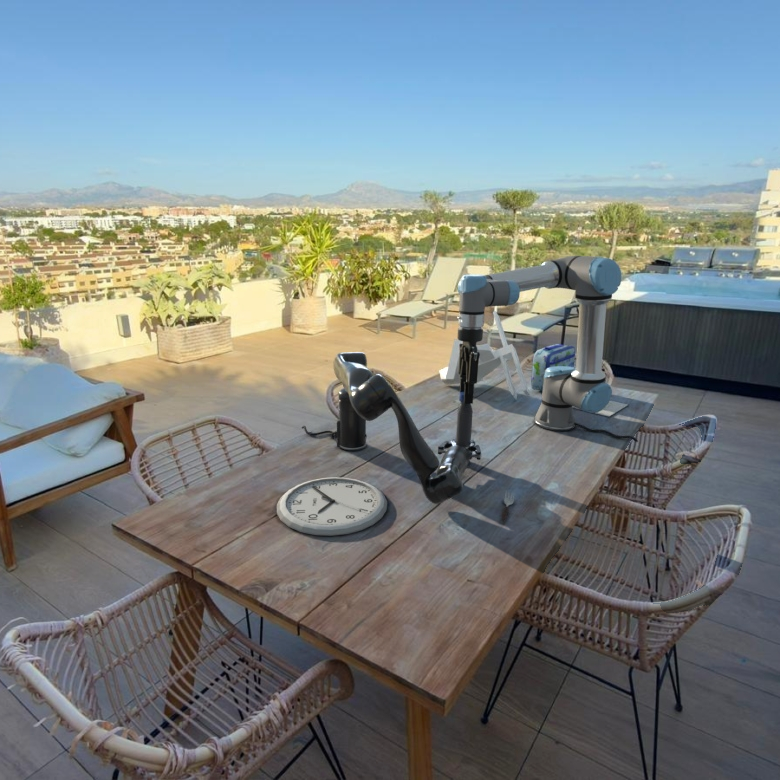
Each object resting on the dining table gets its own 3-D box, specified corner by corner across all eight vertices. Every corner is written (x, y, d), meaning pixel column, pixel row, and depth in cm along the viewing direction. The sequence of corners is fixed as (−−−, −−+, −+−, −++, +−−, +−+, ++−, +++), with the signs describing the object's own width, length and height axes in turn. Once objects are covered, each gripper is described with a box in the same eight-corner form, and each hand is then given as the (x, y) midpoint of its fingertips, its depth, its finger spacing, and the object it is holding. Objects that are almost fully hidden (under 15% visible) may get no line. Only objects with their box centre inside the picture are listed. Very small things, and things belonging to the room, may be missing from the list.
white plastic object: (461, 429, 252) (437, 405, 227) (444, 352, 274) (420, 323, 250) (535, 404, 240) (518, 377, 215) (510, 326, 262) (492, 293, 237)
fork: (496, 524, 135) (497, 517, 134) (505, 496, 149) (506, 489, 148) (506, 526, 134) (507, 519, 133) (514, 497, 148) (515, 491, 148)
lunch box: (547, 396, 238) (552, 351, 232) (526, 391, 246) (531, 347, 239) (574, 385, 256) (579, 343, 250) (554, 380, 263) (559, 340, 257)
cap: (456, 400, 164) (456, 393, 164) (464, 397, 167) (464, 390, 167) (467, 403, 162) (467, 396, 161) (475, 400, 164) (476, 393, 164)
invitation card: (608, 416, 214) (573, 407, 224) (608, 416, 214) (573, 408, 224) (628, 404, 229) (594, 396, 238) (628, 405, 229) (594, 397, 238)
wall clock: (392, 527, 129) (268, 531, 127) (391, 533, 130) (269, 537, 127) (383, 473, 158) (282, 475, 155) (383, 478, 158) (282, 480, 156)
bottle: (466, 458, 173) (470, 392, 167) (471, 464, 169) (476, 397, 162) (452, 459, 172) (456, 393, 166) (457, 465, 168) (461, 397, 161)
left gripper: (479, 454, 153) (487, 433, 168) (431, 447, 157) (443, 427, 172) (477, 477, 155) (485, 454, 170) (430, 470, 159) (442, 448, 175)
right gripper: (451, 322, 165) (447, 392, 172) (466, 333, 149) (462, 410, 156) (474, 322, 166) (469, 392, 173) (492, 332, 150) (486, 409, 157)
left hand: (464, 441), depth 171 cm, fingers closed on bottle, 4 cm apart
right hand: (465, 400), depth 164 cm, fingers closed on cap, 4 cm apart
